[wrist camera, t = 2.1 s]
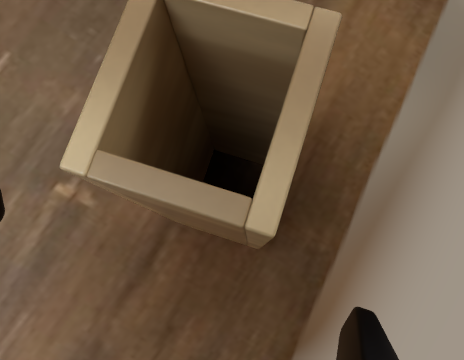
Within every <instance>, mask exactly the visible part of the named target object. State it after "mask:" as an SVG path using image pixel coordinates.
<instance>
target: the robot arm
mask: <svg viewBox="0 0 464 360" xmlns="http://www.w3.org/2000/svg"><path fill="white" fill-rule="evenodd" d="M4 213H5V208H4V203H3V198H2V193H1V189H0V221H1V220H2V218H3V216H4ZM336 360H399V359H398V357H397V355H396V353H395V351H394V349H393V348H392V346H391V344H390V342H389V340H388V338H387V336H386V334H385V332H384V330H383V328H382V326H381V324H380V322H379V320H378V318H377V317H376V315H375V314H374V313H373V312H372V311H370V310H367V309H363V308H361V307H355V308H354V309H353V310H352V312H351V313H350V315H349V317H348V318H347V320H346V322H345V323H344V325H343V327H342V329H341V332H340V337H339V345H338V351H337V358H336Z"/></svg>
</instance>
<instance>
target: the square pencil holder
mask: <svg viewBox="0 0 464 360" xmlns="http://www.w3.org/2000/svg"><path fill="white" fill-rule="evenodd" d="M341 19H342V14H341V13H339V12H335V11H332V10H328V9H324V8H320V7H316V8H315V9H314V6H313V5H310V4H306V3H302V2H299V1H295V0H128V2H127V5H126V7H125V9H124V12H123V14H122V17H121V19H120V21H119V24H118V26H117V29H116V31H115V33H114V36H113V38H112V41H111V43H110V45H109V48H108V50H107V53H106V55H105V57H104V60H103V62H102V65H101V67H100V69H99V72H98V74H97V77H96V79H95V81H94V84H93V86H92V89H91V91H90V93H89V96H88V98H87V101H86V103H85V105H84V108H83V110H82V113H81V115H80V117H79V120H78V122H77V125H76V127H75V129H74V132H73V134H72V137H71V139H70V141H69V144H68V146H67V149H66V151H65V153H64V156H63V158H62V161H61V163H60V168H61V169H62V170H63V171H66V172H68V173H70V174H72V175H74V176H77V177H79V178H81V179H83V180H85V181H87V182H90V183H92V184H94V185H96V186H98V187H101V188H103V189H105V190H107V191H109V192H112V193H114V194H116V195H118V196H120V197H122V198H125V199H127V200H129V201H131V202H133V203H136V204H138V205H140V206H142V207H144V208H147V209H149V210H151V211H153V212H155V213H157V214H160V215H162V216H164V217H166V218H168V219H171V220H173V221H175V222H177V223H180V224H183V225H186V226H189V227H192V228H195V229H198V230H201V231H204V232H207V233H210V234H213V235H216V236H219V237H222V238H225V239H228V240H231V241H234V242H237V243H240V244H243V245H246V246H247V245H248V246H249V247H253V248H256V249H260V248H261V247H262V246H263V245H265V244H266V243H267V242H269V241H270V240H271V239H272V238H274V236H275V235H276V232H277V229H278V225H279V222H280V219H281V215H282V212H283V209H284V206H285V202H286V199H287V196H288V193H289V189H290V186H291V183H292V179H293V176H294V173H295V170H296V166H297V163H298V160H299V156H300V153H301V150H302V147H303V143H304V140H305V137H306V133H307V130H308V127H309V124H310V120H311V117H312V114H313V110H314V107H315V104H316V101H317V97H318V94H319V91H320V88H321V84H322V81H323V78H324V74H325V71H326V68H327V65H328V61H329V58H330V55H331V51H332V48H333V45H334V42H335V38H336V35H337V32H338V28H339V25H340V22H341ZM214 150H216V151H220V152H223V153H226V154H229V155H233V156H236V157H239V158H242V159H246V160H249V161H252V162H255V163H259V164H262V165H264V166H263V169H262V172H261V175H260V178H259V181H258V185H257V188H256V191H255V194H254V197H253V200H252V198H250V197H247V196H244V195H241V194H238V193H235V192H231V191H228V190H225V189H222V188H219V187H216V186H213V185H209V184H206V183H203V180H204V177H205V174H206V171H207V168H208V165H209V163H210V160H211V157H212V154H213V151H214Z"/></svg>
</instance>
